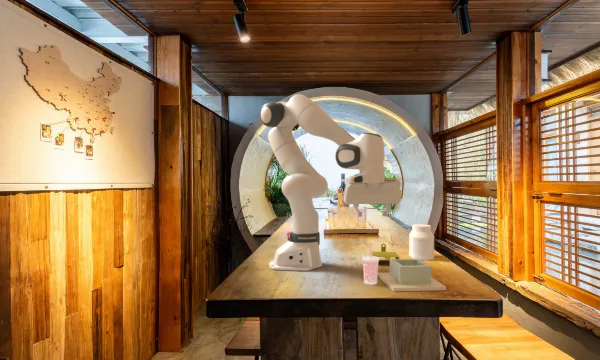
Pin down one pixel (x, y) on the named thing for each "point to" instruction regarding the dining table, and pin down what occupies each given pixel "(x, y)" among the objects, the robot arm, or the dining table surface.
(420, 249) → the jar
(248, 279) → the dining table surface
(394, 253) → the bracket
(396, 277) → the cup well
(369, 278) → the beverage cup
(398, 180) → the robot arm
